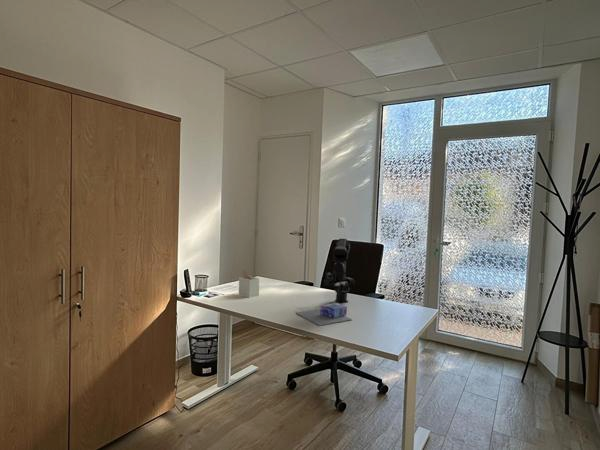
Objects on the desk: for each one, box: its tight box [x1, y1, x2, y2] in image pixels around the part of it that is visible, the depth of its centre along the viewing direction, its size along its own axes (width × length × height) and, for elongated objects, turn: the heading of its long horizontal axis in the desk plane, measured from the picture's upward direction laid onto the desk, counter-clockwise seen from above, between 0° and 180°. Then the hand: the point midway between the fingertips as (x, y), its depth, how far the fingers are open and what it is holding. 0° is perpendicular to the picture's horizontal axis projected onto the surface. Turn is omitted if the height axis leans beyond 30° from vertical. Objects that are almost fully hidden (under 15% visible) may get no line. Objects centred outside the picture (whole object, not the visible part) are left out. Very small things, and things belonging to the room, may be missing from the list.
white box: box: [238, 270, 260, 299], centre depth 243 cm, size 9×11×17 cm
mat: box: [295, 308, 353, 327], centre depth 201 cm, size 22×24×1 cm
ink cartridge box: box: [319, 302, 348, 319], centre depth 203 cm, size 10×6×14 cm
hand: (338, 296), depth 206 cm, fingers closed
